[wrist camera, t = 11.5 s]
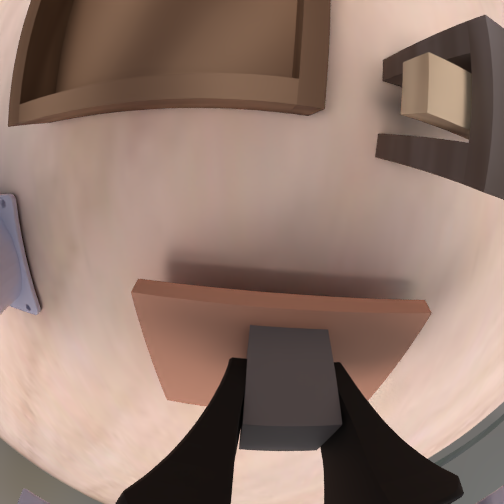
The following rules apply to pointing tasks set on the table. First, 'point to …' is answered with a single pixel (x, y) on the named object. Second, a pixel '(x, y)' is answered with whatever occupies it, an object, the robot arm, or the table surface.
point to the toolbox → (239, 69)
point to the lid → (274, 352)
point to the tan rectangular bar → (437, 93)
